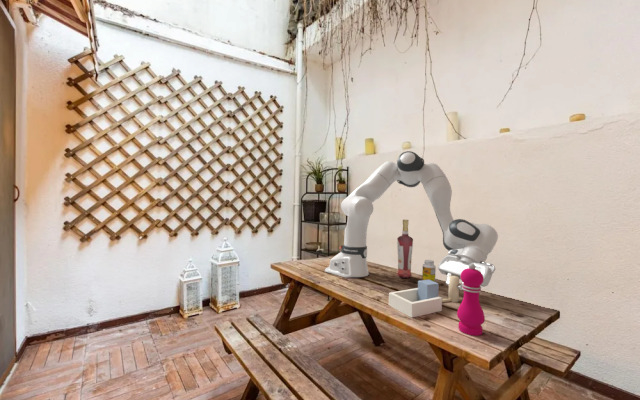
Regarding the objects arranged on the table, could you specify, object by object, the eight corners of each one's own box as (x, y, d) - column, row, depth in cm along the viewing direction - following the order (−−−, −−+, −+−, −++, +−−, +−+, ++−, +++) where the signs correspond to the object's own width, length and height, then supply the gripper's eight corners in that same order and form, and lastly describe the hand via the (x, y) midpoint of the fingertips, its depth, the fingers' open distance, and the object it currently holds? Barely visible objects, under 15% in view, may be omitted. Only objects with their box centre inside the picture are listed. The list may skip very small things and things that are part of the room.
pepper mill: (455, 323, 89) (457, 259, 88) (482, 327, 86) (484, 262, 86) (457, 333, 82) (459, 264, 82) (486, 338, 79) (488, 267, 79)
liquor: (413, 279, 135) (415, 220, 134) (397, 278, 135) (399, 220, 135) (410, 275, 142) (411, 219, 141) (395, 274, 143) (396, 219, 142)
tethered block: (426, 307, 101) (427, 282, 101) (417, 301, 106) (418, 278, 106) (462, 302, 107) (462, 278, 107) (452, 297, 111) (452, 274, 111)
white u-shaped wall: (411, 317, 92) (411, 303, 92) (388, 305, 102) (388, 292, 102) (441, 310, 98) (441, 297, 98) (416, 299, 108) (417, 287, 108)
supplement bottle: (419, 281, 132) (420, 259, 132) (429, 280, 134) (430, 258, 134) (427, 285, 127) (428, 262, 127) (437, 284, 128) (438, 261, 128)
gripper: (500, 270, 104) (482, 301, 100) (452, 258, 123) (435, 284, 118) (493, 259, 102) (475, 290, 98) (446, 249, 120) (428, 274, 116)
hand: (453, 286), depth 108 cm, fingers closed on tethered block, 4 cm apart
